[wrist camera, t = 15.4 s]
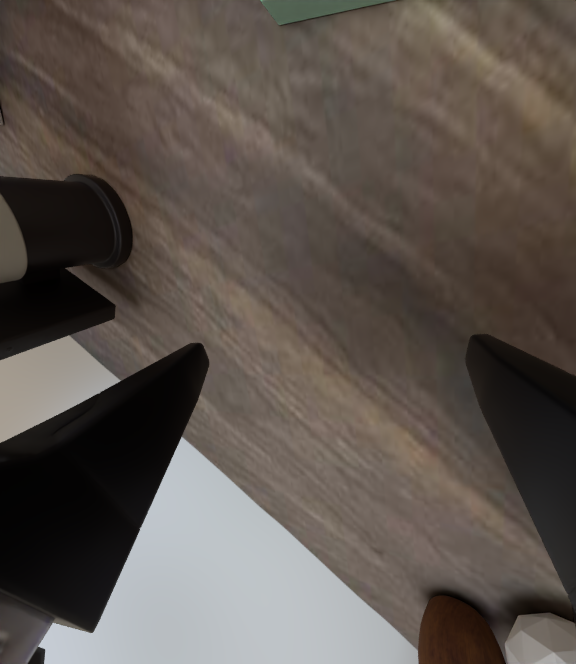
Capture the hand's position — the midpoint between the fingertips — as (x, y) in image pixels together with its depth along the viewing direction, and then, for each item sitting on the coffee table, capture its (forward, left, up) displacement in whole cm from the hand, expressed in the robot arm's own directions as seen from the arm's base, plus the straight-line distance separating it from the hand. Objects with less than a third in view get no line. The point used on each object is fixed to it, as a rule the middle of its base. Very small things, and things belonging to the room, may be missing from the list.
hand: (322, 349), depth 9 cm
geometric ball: (-16, +29, -7) cm, 34 cm away
